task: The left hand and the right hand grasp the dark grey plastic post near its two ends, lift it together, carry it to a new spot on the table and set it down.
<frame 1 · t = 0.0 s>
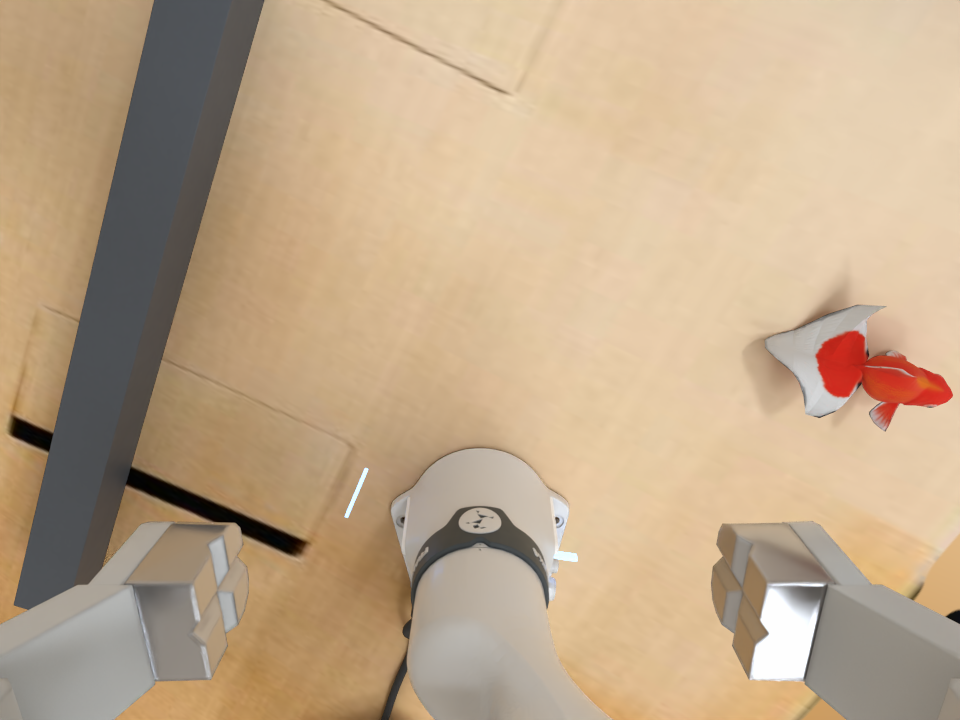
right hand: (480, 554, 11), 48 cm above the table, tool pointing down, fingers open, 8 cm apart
fish: (829, 356, 60), on the table
post: (142, 324, 59), on the table
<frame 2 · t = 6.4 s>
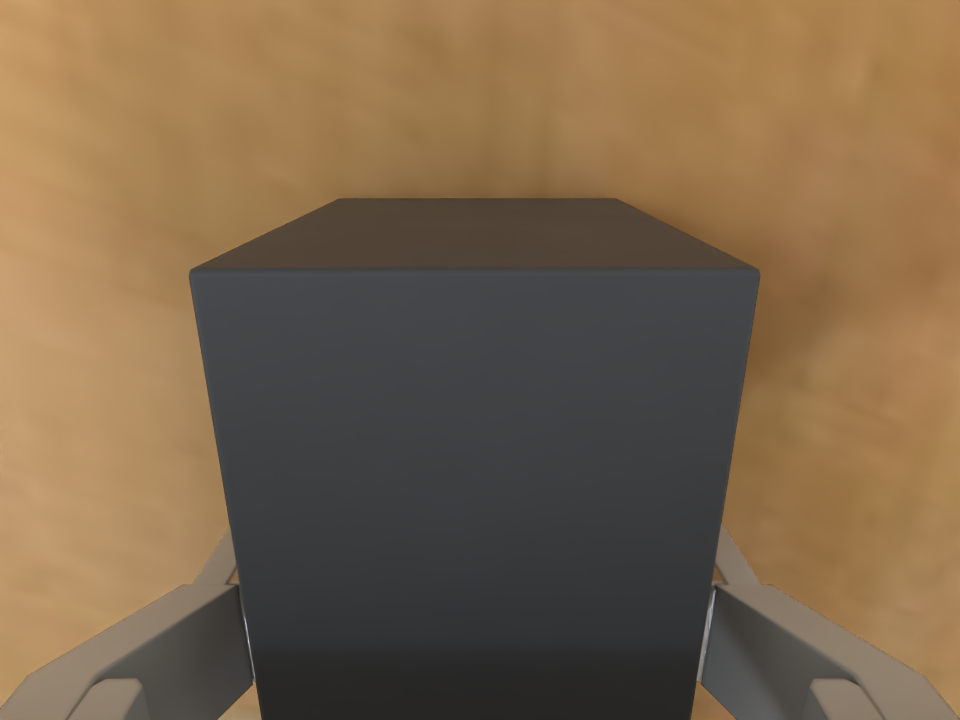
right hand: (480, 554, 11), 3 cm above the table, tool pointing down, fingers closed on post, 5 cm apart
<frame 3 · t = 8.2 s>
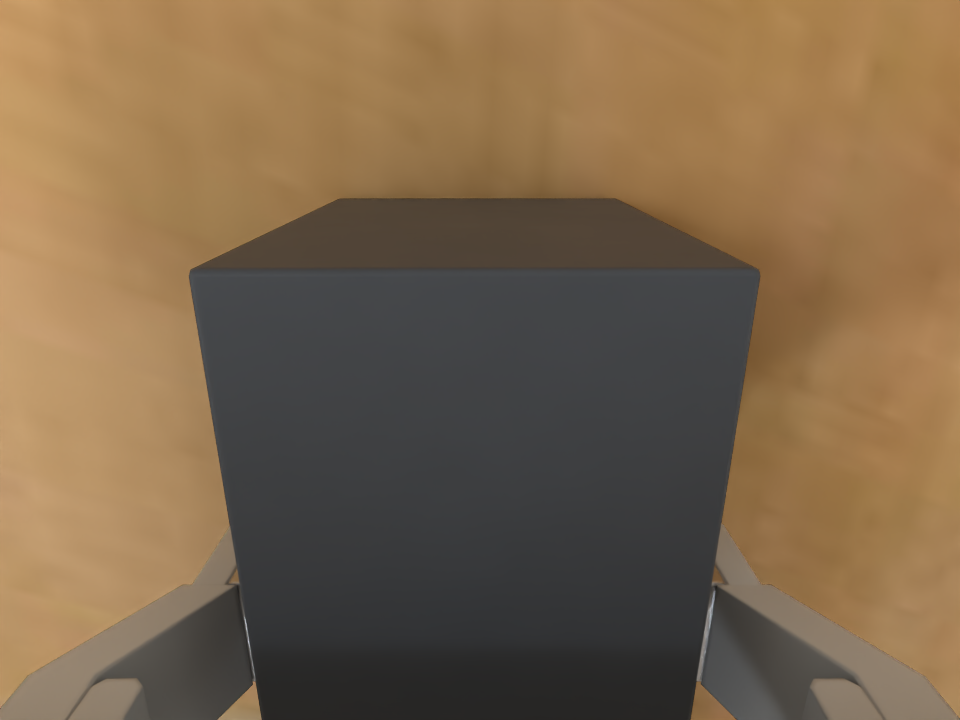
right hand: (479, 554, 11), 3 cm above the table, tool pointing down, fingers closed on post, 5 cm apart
when the left hand's fingers open (4 cm above the table, at t = 13.9 s): post drops 1 cm, on the table.
when the right hand's fingers open (4 cm above the table, at t = 13.9 s): post drops 1 cm, on the table.
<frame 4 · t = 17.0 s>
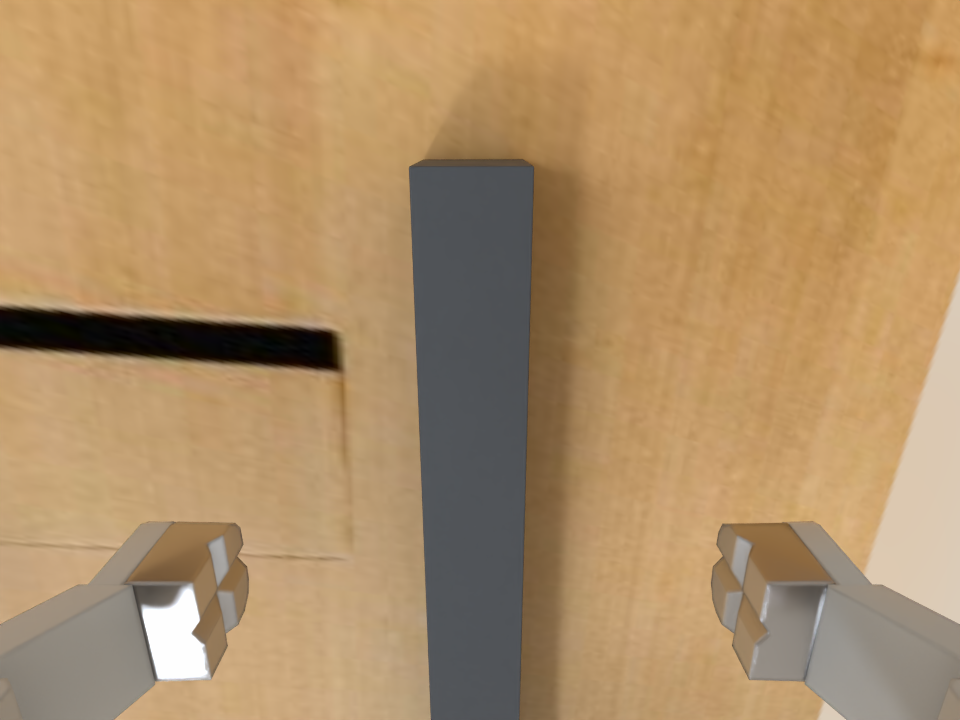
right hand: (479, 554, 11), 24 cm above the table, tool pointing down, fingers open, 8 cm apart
post: (475, 651, 42), on the table
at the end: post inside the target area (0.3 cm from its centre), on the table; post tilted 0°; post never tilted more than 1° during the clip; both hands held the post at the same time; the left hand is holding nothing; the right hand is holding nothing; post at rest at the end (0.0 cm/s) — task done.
